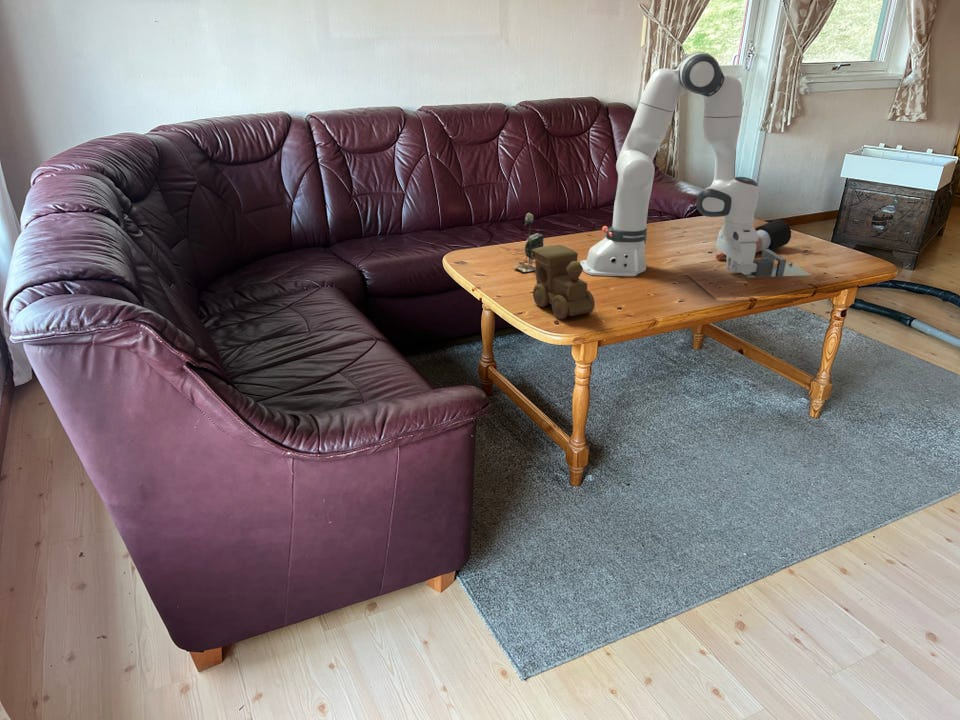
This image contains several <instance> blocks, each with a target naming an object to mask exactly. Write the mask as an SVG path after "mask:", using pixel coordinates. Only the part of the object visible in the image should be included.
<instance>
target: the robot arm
mask: <svg viewBox="0 0 960 720" xmlns="http://www.w3.org/2000/svg"><path fill="white" fill-rule="evenodd" d="M742 89H743V88H742V82H741V81H740V80H739V79H738V78H736V77H734V76H728V75H724V72H723V71H722V69H721V67H720V63H719V62H718V61H717V59H716V58H715V57H714V56H712V55H711V54H709V53H707V52H703V51H698V52H694V53H690V54H689V55H687V56H685V57H684V58H683V59H682V60H681V61H680V62H679V63H678V64H677V65H676V66H675V67H674V68H673V69H672V68H667V67H664V68H659V69H656V70H655V71H653V73H652V74H651V76H650V78H649V79H648V81H647V84H646V85H645V88H644V90H643V92H642V95H641V97H640V100H639V103H638V105H637V109H636V111H635V114H634V117H633V120H632V123H631V126H630V128H629V131H628V132H627V136H626V137H625V140H624V142H623V144H622V147H621V150H620V152H619V154H618V157H617V160H616V164H615V169H616V172H617V185H616V194H615V198H614V199H615V200H614V202H613V204H614V205H613V213H612V215H613V216H612V225H611V226H609V227H608V226H607V225H604V226H602V228H601V230H602V232H603V233H604V234H605V237H603V238H602V239H601V240H600V241H598V242H597V243H595V244H594V245H592V246H591V247H590V248H589V250H588V252H587V257H586V259H584V260H580V261H579V262H580V264H581V266H582V267H583V271H582V272H584V273H586V274H588V275H590V276H606V277H607V276H611V277H636V276H638V274H642V273H644V272H646V270H647V263H646V257H645V255H646V254H645V249H646V248H645V246H646V244H647V243H646V241H647V239H648V238H647V236H648V228H647V221H648V211H649V203H650V200H651V199H650V198H651V195H652V190H653V184H654V183H653V182H654V178H655V164H654V158H655V157H656V154H657V151H659V148H660V147H661V145H662V142H663V140H664V139H665V137H666V135H667V132H668V129H669V126H670V124H671V121H672V119H673V116H674V112H675V110H676V107H677V105H678V102H679V100H680V99H681V97H682V96H683V95H684V94H685V93H686V92H691V93H693V94H695V95H701V96H702V98H703V101H704V102H703V103H704V110H703V118H702V133H703V138H704V140H705V141H706V142H707V144H708V145H710V146H711V148H712V149H713V152H714V174H713V176H714V177H713V181H712V183H711V184H710V186H707V187H706V188H704V189H703V190H702V191H700V192H699V194H698V195H697V197H696V209H697V211H698V212H699V213H700V214H701V215H703V216H704V217H707V218H717V217H724V221H723V225H722V228H721V229H720V230H719V231H718V232H719V233H718V235H717V239H716V240H717V241H716V244H715V246H716V249H717V251H719V252H720V253H721V252H722V253H723V254H725V255H726V256H727V257H726V258H725V259H726V270H728V271H729V272H730V273H736V272H735V271H736V267H737V265H738V264H739V265H741V266H751V265H752V263H753V261H754V260H755V257H756V253H757V252H756V242H757V241H758V240H759V235H758V233H757V232H756V230H755V228H756V227H755V226H754V224H755V216H754V215H755V212H756V209H757V206H758V199H759V185H758V183H757V182H756V181H755V180H754V179H752V178H749V177H745V176H736V158H737V145H738V139H739V134H740V130H741V123H742V114H743V113H742V112H743V90H742ZM755 252H756V253H755Z"/></svg>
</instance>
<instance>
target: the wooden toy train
mask: <svg viewBox="0 0 960 720" xmlns="http://www.w3.org/2000/svg"><path fill="white" fill-rule="evenodd" d="M578 257H579V256H578V252H576V251H575V250H573V249H571V248H569V247H567V246H564V245H562V244H555V245H554V244H553V245H552V244H551V245H546V246H544V245H543V247H539V248H535V249H532V258H533V259H534V260H533V261H535V264H534V266H535V269H536V270H535V281H536V284H534V287H533V291H532V298H533V300H534V303H535V305H537V307H538V308H539V307H540V308H544V307H547V305H548V303H549V304H550V305H551V309H552V313H553V314H554V316H555V317H556V318H557V319H560V320H565V319H566V318H567V317H568V316H570V317H574V316H577V315H582V314H585V315H588V314H589V315H590V314H591V313H592V312H594V309H595V305H596V303H595V298H594V296H593V294H592V292H590V290H588V283H587V282H586V281H584V280H583V279H580V278H579V277H581V275H582V272H584V271H583V267H582V266H581V264H580V262H581V261H578Z"/></svg>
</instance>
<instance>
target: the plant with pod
mask: <svg viewBox="0 0 960 720" xmlns="http://www.w3.org/2000/svg"><path fill="white" fill-rule="evenodd" d="M534 218H535V217H534V215H533V214H532V213H530V212H528V213H526V214H525V217H524V222H525V223H524V226H526V225H529V227H528V237H527V239H526V241H525V244H524V255H525V256H526V257H525V258H526V259H525V260H521V261H519V263H518V264H516V265H515V266H514V267H513V269H517V270H519V271H520V272H523V273H527V272H528V273H529V272H533V271H535V272H536V269H535V265H533V261H535V260H534V259H533V258H532V249H535V248H539V247H544V235H545V234H544V233H543V234H541V233H537V232H536V233H533V234H532V235H531V228H532V227H531V225H533V222H534ZM527 259H528V260H527ZM532 265H533V266H532Z"/></svg>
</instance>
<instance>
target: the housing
mask: <svg viewBox="0 0 960 720" xmlns="http://www.w3.org/2000/svg"><path fill="white" fill-rule="evenodd" d="M760 259H768V260H770V261H772V262H773V263H774V264H773V269H772V274H770V275H756V274H755V273H753V272H741V274H742V275H744V276H745V277H747V278H748V279H749V278H767V277H769V278H771V277H772V278H774V277H798V276H799V277H801V276H812V274H811V273H809V272H807V271H806V270H805V269H803V268H801V267H800V266H798V265H796V264H794V263H792V262H788V263H787V259H786V258H785V257H783V256H781V255H779V254H777V253H776V252H774V250H772V251H771V250H769V249H763V250H762V253H761V257H760ZM775 260H776V261H777V263H775Z"/></svg>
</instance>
